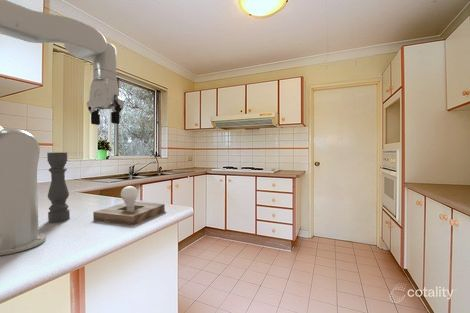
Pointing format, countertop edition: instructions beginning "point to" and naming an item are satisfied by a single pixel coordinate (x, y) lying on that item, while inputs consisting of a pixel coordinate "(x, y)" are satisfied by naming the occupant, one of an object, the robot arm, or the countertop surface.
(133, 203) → the lightbulb
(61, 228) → the countertop surface
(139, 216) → the socket block
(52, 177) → the candle holder
